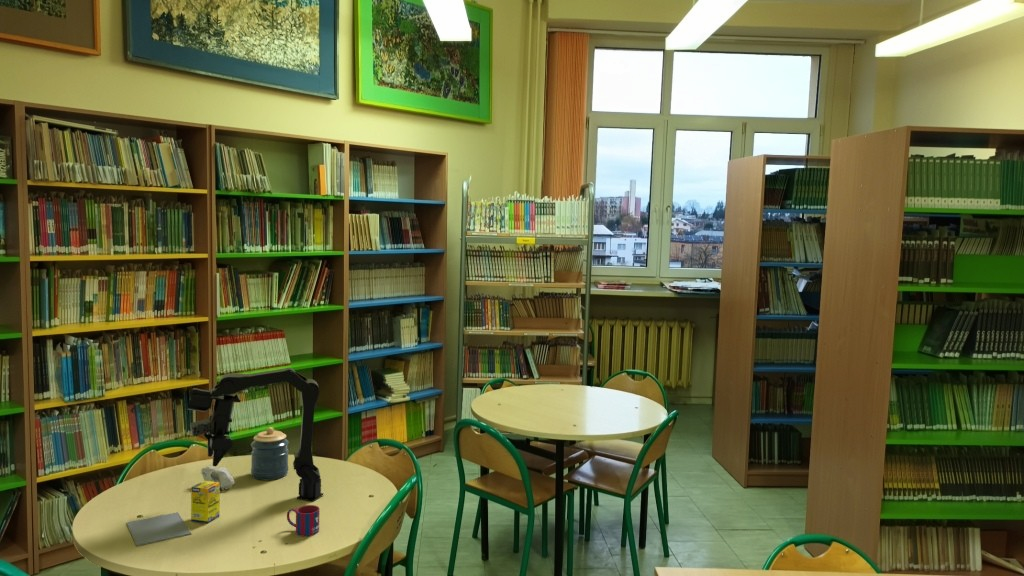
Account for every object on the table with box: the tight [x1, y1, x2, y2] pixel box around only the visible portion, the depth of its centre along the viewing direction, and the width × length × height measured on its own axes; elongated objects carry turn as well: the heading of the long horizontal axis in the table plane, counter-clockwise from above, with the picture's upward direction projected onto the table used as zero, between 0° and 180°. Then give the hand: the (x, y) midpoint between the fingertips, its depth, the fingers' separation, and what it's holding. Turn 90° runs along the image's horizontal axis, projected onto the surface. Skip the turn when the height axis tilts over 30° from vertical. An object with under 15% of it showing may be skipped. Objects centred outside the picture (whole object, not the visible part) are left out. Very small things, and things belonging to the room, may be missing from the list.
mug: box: [286, 504, 320, 537], centre depth 201 cm, size 7×10×7 cm
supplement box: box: [190, 480, 221, 524], centre depth 207 cm, size 6×6×11 cm
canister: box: [250, 426, 290, 481], centre depth 247 cm, size 13×13×18 cm
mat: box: [126, 511, 192, 547], centre depth 199 cm, size 14×18×1 cm
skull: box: [200, 465, 235, 491], centre depth 233 cm, size 8×9×12 cm
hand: (212, 461), depth 216 cm, fingers open, 9 cm apart
